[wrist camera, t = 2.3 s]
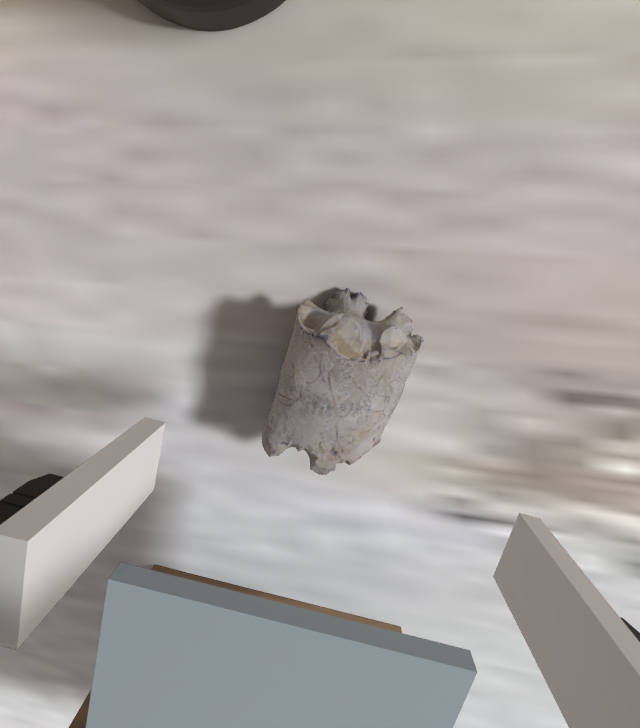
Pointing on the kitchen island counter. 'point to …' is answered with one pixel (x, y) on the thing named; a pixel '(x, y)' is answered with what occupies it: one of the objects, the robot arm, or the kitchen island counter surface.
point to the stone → (339, 381)
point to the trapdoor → (260, 664)
